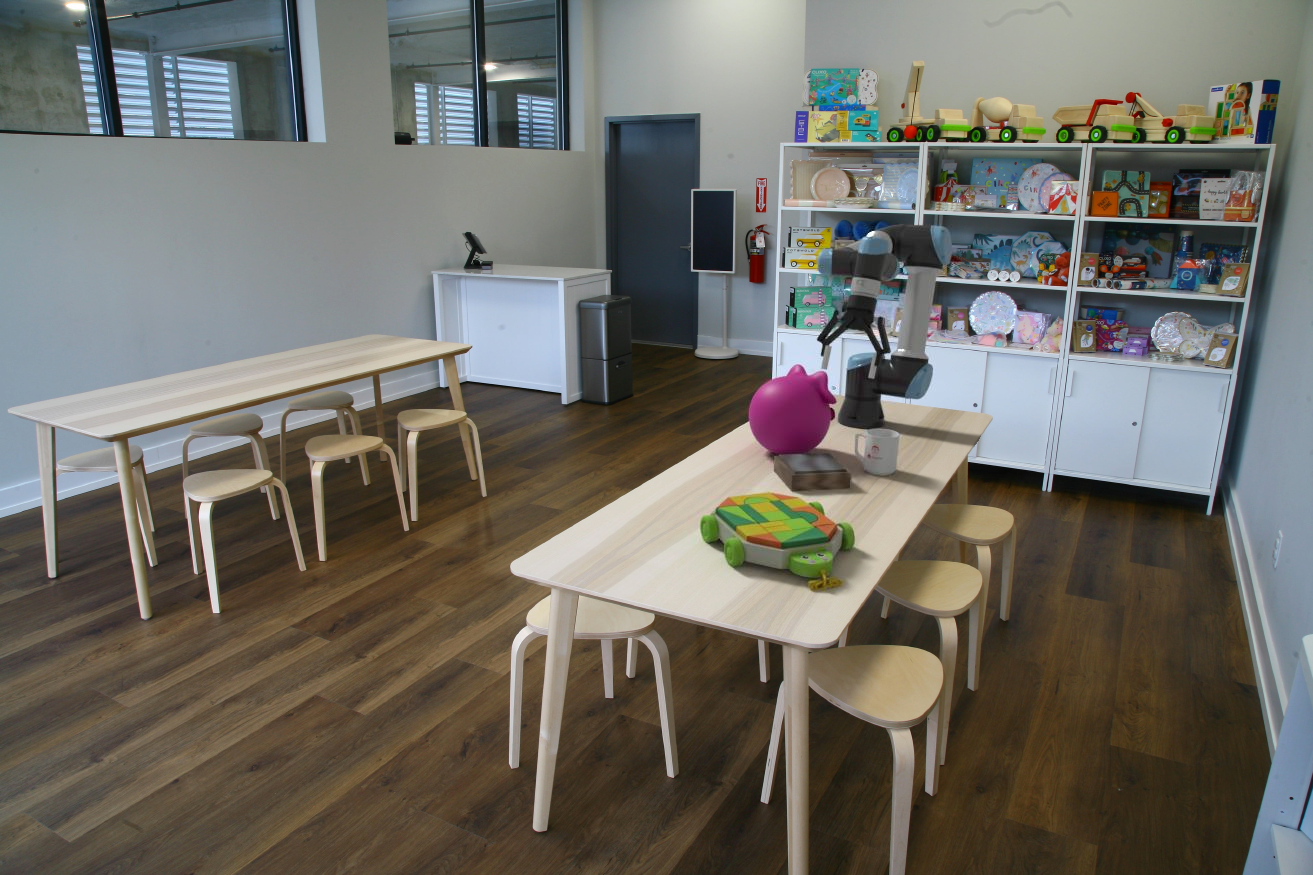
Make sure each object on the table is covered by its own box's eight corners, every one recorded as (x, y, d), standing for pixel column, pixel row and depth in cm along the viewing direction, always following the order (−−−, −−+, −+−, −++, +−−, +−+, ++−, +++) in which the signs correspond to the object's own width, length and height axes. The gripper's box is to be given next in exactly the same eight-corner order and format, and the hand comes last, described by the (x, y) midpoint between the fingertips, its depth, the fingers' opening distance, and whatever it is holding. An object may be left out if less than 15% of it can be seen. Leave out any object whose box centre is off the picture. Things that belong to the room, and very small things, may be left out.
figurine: (846, 457, 248) (853, 373, 240) (782, 471, 236) (787, 383, 228) (794, 437, 267) (798, 358, 259) (732, 448, 255) (735, 366, 247)
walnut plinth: (828, 468, 238) (830, 451, 237) (850, 488, 223) (851, 470, 221) (773, 470, 236) (774, 453, 234) (791, 491, 220) (792, 472, 219)
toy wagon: (764, 602, 163) (766, 567, 161) (690, 529, 197) (690, 499, 195) (893, 580, 173) (896, 546, 171) (801, 514, 207) (803, 485, 204)
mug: (900, 470, 237) (904, 431, 234) (889, 478, 230) (893, 439, 227) (859, 462, 244) (862, 424, 240) (847, 470, 237) (850, 432, 233)
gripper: (815, 288, 232) (799, 364, 234) (904, 300, 219) (887, 381, 222) (825, 291, 238) (810, 366, 241) (913, 303, 225) (895, 382, 228)
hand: (847, 373), depth 231 cm, fingers open, 13 cm apart
